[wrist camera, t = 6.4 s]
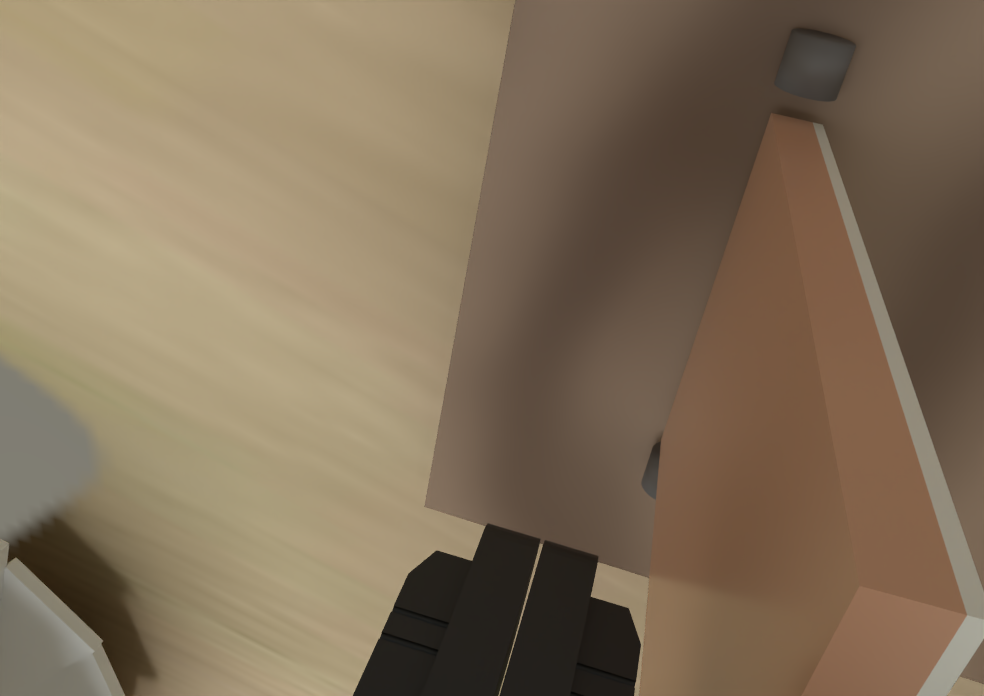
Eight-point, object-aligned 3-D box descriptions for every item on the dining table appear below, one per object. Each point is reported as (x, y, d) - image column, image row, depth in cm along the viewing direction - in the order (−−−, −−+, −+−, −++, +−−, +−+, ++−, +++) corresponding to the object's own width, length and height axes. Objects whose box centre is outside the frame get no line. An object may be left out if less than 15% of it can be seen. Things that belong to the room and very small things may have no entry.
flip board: (1874, 25, 15) (2066, 61, 13) (1232, 722, 25) (1278, 813, 22) (573, -238, 18) (545, -247, 16) (440, 475, 28) (410, 534, 25)
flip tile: (771, 112, 18) (823, 124, 18) (661, 439, 22) (702, 450, 22) (860, 585, 7) (993, 621, 7) (607, 1059, 11) (689, 1085, 11)
